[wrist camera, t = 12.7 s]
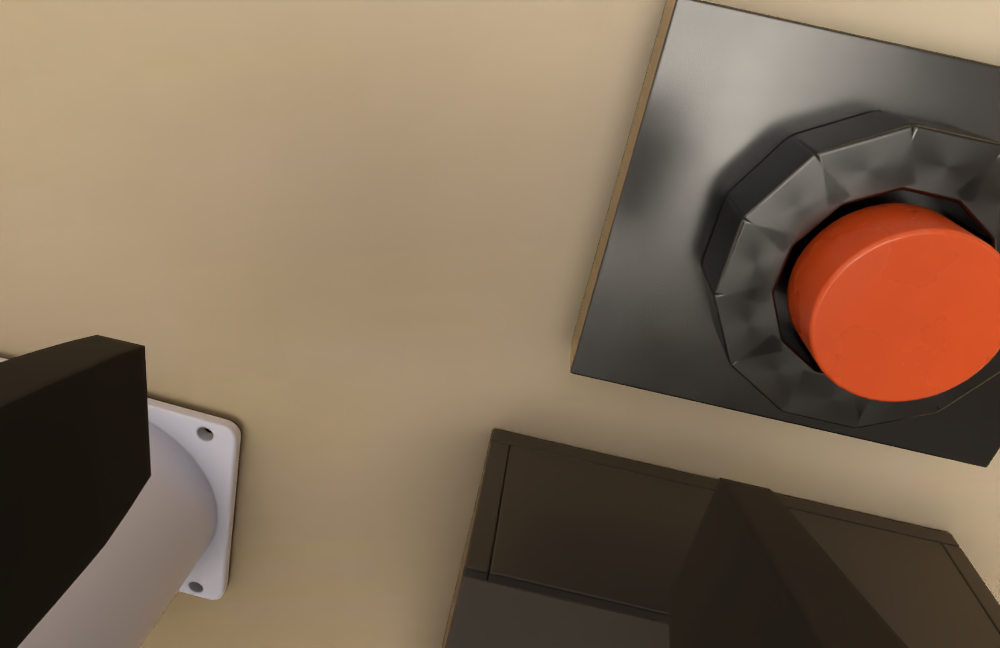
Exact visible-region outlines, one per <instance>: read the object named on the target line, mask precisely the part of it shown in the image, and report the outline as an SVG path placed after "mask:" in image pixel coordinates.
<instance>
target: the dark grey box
mask: <svg viewBox="0 0 1000 648" xmlns="http://www.w3.org/2000/svg"><path fill="white" fill-rule="evenodd" d="M718 482H719V480H715V479H711V478H706V477H702V476H698V475H693V474H689V473H684V472H680V471H676V470H671V469H667V468H663V467H658V466H654V465H650V464H645V463H641V462H637V461H632V460H628V459H623V458H619V457H615V456H610V455H606V454H602V453H597V452H593V451H589V450H584V449H580V448H575V447H571V446H567V445H562V444H558V443H554V442H549V441H545V440H541V439H536V438H532V437H528V436H523V435H519V434H514V433H510V432H506V431H501V430H497V429H493V431H492V434H491V439H490V443H489V447H488V451H487V456H486V460H485V464H484V469H483V473H482V477H481V481H480V486H479V490H478V494H477V498H476V503H475V507H474V511H473V516H472V520H471V524H470V528H469V533H468V537H467V541H466V546H465V550H464V554H463V558H462V563H461V567H460V571H459V575H458V580H457V584H456V588H455V593H454V597H453V601H452V605H451V610H450V614H449V618H448V623H447V627H446V631H445V635H444V640H443V644H442V648H446V646H447V642H448V637H449V632H450V628H451V623H452V619H453V614H454V610H455V605H456V600H457V596H458V591H459V587H460V582H461V579H462V577H463V576H468V577H473V578H477V579H481V580H485V581H490V582H494V583H498V584H503V585H507V586H511V587H516V588H520V589H524V590H529V591H533V592H537V593H541V594H546V595H550V596H554V597H559V598H563V599H567V600H572V601H576V602H580V603H584V604H589V605H593V606H597V607H602V608H606V609H610V610H615V611H619V612H623V613H628V614H632V615H636V616H640V617H645V618H649V619H653V620H658V621H662V622H666V623H669V593H670V591H671V589H672V587H673V584H674V582H675V580H676V577H677V575H678V573H679V571H680V568H681V566H682V564H683V562H684V559H685V557H686V555H687V552H688V550H689V548H690V546H691V543H692V541H693V539H694V537H695V534H696V532H697V530H698V527H699V525H700V523H701V521H702V518H703V516H704V514H705V511H706V509H707V507H708V505H709V502H710V500H711V498H712V496H713V493H714V491H715V489H716V486H717V484H718ZM774 494H775V495H776V496H777V497H778V498H779V499H780V500H781V501H782V502H783V504H784V505H785V506H786V507H787V508H788V509H789V510H790V511H791V512H792V514H793V515H794V516H795V517H796V518H797V519H798V520H799V522H800V523H801V524H802V525H803V526H804V527H805V529H806V530H807V531H808V532H809V533H810V534H811V535H812V537H813V538H814V539H815V540H816V541H817V542H818V544H819V545H820V546H821V547H822V548H823V550H824V551H825V552H826V553H827V554H828V555H829V557H830V558H831V559H832V560H833V561H834V562H835V564H836V565H837V566H838V567H839V568H840V569H841V571H842V572H843V573H844V574H845V575H846V576H847V578H848V579H849V580H850V581H851V582H852V583H853V585H854V586H855V587H856V588H857V589H858V590H859V592H860V593H861V594H862V595H863V596H864V597H865V599H866V600H867V601H868V602H869V603H870V604H871V605H872V607H873V608H874V609H875V610H876V611H877V612H878V613H879V615H880V616H881V617H882V618H883V619H884V620H885V621H886V623H887V624H888V625H889V626H890V627H891V628H892V629H893V631H894V632H895V633H896V634H897V635H898V636H899V637H900V638H901V640H902V641H903V642H904V643H905V644H906V645H907V646H908V647H909V648H1000V605H999V604H998V602H997V601H996V599H995V598H994V596H993V595H992V593H991V592H990V590H989V589H988V587H987V586H986V585H985V583H984V582H983V580H982V579H981V577H980V576H979V574H978V573H977V571H976V570H975V568H974V567H973V565H972V564H971V562H970V561H969V559H968V558H967V557H966V555H965V554H964V552H963V551H962V549H961V548H959V545H958V544H957V542H956V541H955V539H954V538H953V536H952V535H951V534H950V533H946V532H942V531H937V530H933V529H929V528H924V527H920V526H916V525H911V524H907V523H902V522H898V521H894V520H889V519H885V518H881V517H876V516H872V515H868V514H863V513H859V512H855V511H850V510H846V509H841V508H837V507H833V506H828V505H824V504H820V503H815V502H811V501H807V500H802V499H798V498H793V497H789V496H785V495H780V494H776V493H774Z"/></svg>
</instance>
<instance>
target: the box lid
mask: <svg viewBox="0 0 1000 648" xmlns="http://www.w3.org/2000/svg"><path fill="white" fill-rule="evenodd" d="M446 648H670V642H669V623H666V622H662V621H658V620H653V619H649V618H645V617H640V616H636V615H632V614H628V613H623V612H619V611H615V610H610V609H606V608H602V607H597V606H593V605H589V604H584V603H580V602H576V601H572V600H567V599H563V598H559V597H554V596H550V595H546V594H541V593H537V592H533V591H529V590H524V589H520V588H516V587H511V586H507V585H503V584H498V583H494V582H490V581H485V580H481V579H477V578H473V577H468V576H463V577H462V579H461V582H460V587H459V591H458V596H457V600H456V605H455V610H454V614H453V619H452V623H451V628H450V632H449V637H448V642H447V646H446Z"/></svg>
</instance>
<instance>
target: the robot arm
mask: <svg viewBox="0 0 1000 648" xmlns="http://www.w3.org/2000/svg"><path fill="white" fill-rule="evenodd" d="M204 427H206V428H208V429H210V430H211V432H212V433H213V434H211V433H209V432H207V431H206V430H205V429H204ZM240 442H241V433H240V430H239V428H238V426H237V425H235V424H234V423H233V422H231V421H229V420H227V419H223V418H220V417H216V416H212V415H209V414H205V413H201V412H198V411H194V410H190V409H187V408H183V407H179V406H176V405H172V404H168V403H165V402H161V401H158V400H154V399H150V398H147V381H146V361H145V346H143V345H139V344H134V343H130V342H126V341H121V340H117V339H112V338H108V337H104V336H99V335H94V336H90V337H86V338H81V339H77V340H73V341H69V342H66V343H62V344H59V345H55V346H52V347H48V348H45V349H41V350H38V351H35V352H31V353H28V354H25V355H22V356H19V357H15V358H12V359H9V360H8V359H4V358H1V357H0V648H140V646H141V645H142V643H143V642H144V640H145V639H146V637H147V636H148V635H149V633H150V632H151V630H152V629H153V627H154V626H155V624H156V623H157V621H158V620H159V618H160V617H161V615H162V614H163V612H164V611H165V609H166V608H167V607H168V605H169V604H170V602H171V601H172V599H173V598H174V596H175V595H176V593H177V592H178V591H180V592H183V593H187V594H191V595H194V596H198V597H202V598H205V599H210V600H216V599H220V598H221V597H222V596H223V594H224V593H225V591H226V589H227V584H228V573H229V562H230V551H231V540H232V529H233V518H234V507H235V496H236V485H237V474H238V463H239V452H240ZM669 642H670V648H909V647H908V646H907V645H906V644H905V643H904V642H903V641H902V640H901V638H900V637H899V636H898V635H897V634H896V633H895V632H894V631H893V629H892V628H891V627H890V626H889V625H888V624H887V623H886V621H885V620H884V619H883V618H882V617H881V616H880V615H879V613H878V612H877V611H876V610H875V609H874V608H873V607H872V605H871V604H870V603H869V602H868V601H867V600H866V599H865V597H864V596H863V595H862V594H861V593H860V592H859V590H858V589H857V588H856V587H855V586H854V585H853V583H852V582H851V581H850V580H849V579H848V578H847V576H846V575H845V574H844V573H843V572H842V571H841V569H840V568H839V567H838V566H837V565H836V564H835V562H834V561H833V560H832V559H831V558H830V557H829V555H828V554H827V553H826V552H825V551H824V550H823V548H822V547H821V546H820V545H819V544H818V542H817V541H816V540H815V539H814V538H813V537H812V535H811V534H810V533H809V532H808V531H807V530H806V529H805V527H804V526H803V525H802V524H801V523H800V522H799V520H798V519H797V518H796V517H795V516H794V515H793V514H792V512H791V511H790V510H789V509H788V508H787V507H786V506H785V505H784V504H783V502H782V501H781V500H780V499H779V498H778V497H777V496H776V495H775V494H774V493H773V492H772V491H771V490H770V489H767V488H762V487H758V486H754V485H749V484H745V483H741V482H736V481H732V480H727V479H723V478H720V480H719V482H718V484H717V486H716V489H715V491H714V493H713V496H712V498H711V500H710V502H709V505H708V507H707V509H706V511H705V514H704V516H703V518H702V521H701V523H700V525H699V527H698V530H697V532H696V534H695V537H694V539H693V541H692V543H691V546H690V548H689V550H688V552H687V555H686V557H685V559H684V562H683V564H682V566H681V568H680V571H679V573H678V575H677V577H676V580H675V582H674V584H673V587H672V589H671V591H670V593H669Z"/></svg>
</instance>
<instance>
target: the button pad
mask: <svg viewBox="0 0 1000 648" xmlns="http://www.w3.org/2000/svg"><path fill="white" fill-rule="evenodd" d="M890 203H904V204H912V205H918V206H922V207H925V208H928V209H931V210H933V211H935V212H937V213H940V214H941V215H943V216H944V217H946V218H948V219H949V220H951V221H953V222H954V223H956V224H957V225H959V226H961V227H962V228H964V229H965V230H967V231H969V232H970V233H972V234H974V235H975V236H977V237H978V238H980V239H982V240H983V241H985V242H986V243H988V244H989V245H991V246H992V247H993V248H994V249H995V250H996V251H997V252H998V253H1000V66H996V65H991V64H987V63H982V62H978V61H973V60H969V59H964V58H960V57H955V56H951V55H946V54H942V53H937V52H932V51H928V50H923V49H919V48H914V47H910V46H905V45H901V44H896V43H892V42H887V41H883V40H878V39H873V38H869V37H864V36H860V35H855V34H851V33H846V32H842V31H837V30H833V29H828V28H824V27H819V26H814V25H810V24H805V23H801V22H796V21H792V20H787V19H783V18H778V17H774V16H769V15H764V14H760V13H755V12H751V11H746V10H742V9H737V8H733V7H728V6H724V5H719V4H715V3H710V2H705V1H701V0H667V1H666V5H665V8H664V12H663V16H662V19H661V23H660V26H659V30H658V33H657V37H656V41H655V44H654V48H653V51H652V55H651V59H650V62H649V66H648V69H647V73H646V77H645V80H644V84H643V87H642V91H641V94H640V98H639V102H638V105H637V109H636V112H635V116H634V120H633V123H632V127H631V130H630V134H629V137H628V141H627V145H626V148H625V152H624V155H623V159H622V163H621V166H620V170H619V173H618V177H617V181H616V184H615V188H614V191H613V195H612V198H611V202H610V206H609V209H608V213H607V216H606V220H605V224H604V227H603V231H602V234H601V238H600V242H599V245H598V249H597V252H596V256H595V259H594V263H593V267H592V270H591V274H590V277H589V281H588V285H587V288H586V292H585V295H584V299H583V303H582V306H581V310H580V313H579V317H578V320H577V324H576V328H575V331H574V335H573V338H572V342H571V366H570V372H571V373H573V374H578V375H582V376H587V377H591V378H595V379H600V380H604V381H609V382H613V383H617V384H622V385H626V386H630V387H635V388H639V389H644V390H648V391H652V392H657V393H661V394H666V395H670V396H674V397H679V398H683V399H687V400H692V401H696V402H701V403H705V404H709V405H714V406H718V407H723V408H727V409H731V410H736V411H740V412H744V413H749V414H753V415H758V416H762V417H766V418H771V419H775V420H780V421H784V422H788V423H793V424H797V425H802V426H806V427H810V428H815V429H819V430H823V431H828V432H832V433H837V434H841V435H845V436H850V437H854V438H859V439H863V440H867V441H872V442H876V443H880V444H885V445H889V446H894V447H898V448H902V449H907V450H911V451H916V452H920V453H924V454H929V455H933V456H938V457H942V458H946V459H951V460H955V461H959V462H964V463H968V464H973V465H977V466H981V467H987V466H988V465H989V463H990V462H991V460H992V459H993V457H994V456H995V454H996V453H997V451H998V450H999V448H1000V349H999V351H998V352H997V353H996V355H995V356H994V357H993V358H992V359H991V360H990V361H989V362H988V363H987V364H986V365H985V366H984V367H983V368H982V369H981V370H980V371H978V372H977V373H976V374H974V375H973V376H972V377H970V378H969V379H967V380H966V381H964V382H962V383H961V384H959V385H957V386H955V387H953V388H951V389H949V390H947V391H945V392H942V393H939V394H936V395H934V396H930V397H926V398H922V399H918V400H911V401H901V402H887V401H877V400H871V399H867V398H864V397H860V396H857V395H855V394H852V393H850V392H848V391H846V390H844V389H842V388H841V387H839V386H837V385H836V384H835V383H834V382H832V381H831V380H830V379H829V378H828V377H827V376H826V375H825V374H824V373H823V372H822V371H821V369H820V368H819V366H818V364H817V363H816V361H815V360H814V358H813V357H812V355H811V353H810V352H809V350H808V349H807V347H806V345H805V344H804V342H803V341H802V339H801V338H800V336H799V334H798V333H797V331H796V330H795V328H794V326H793V324H792V322H791V319H790V316H789V312H788V308H787V287H788V282H789V278H790V275H791V272H792V269H793V267H794V265H795V263H796V261H797V259H798V257H799V256H800V254H801V253H802V251H803V250H804V248H805V247H806V246H807V245H808V244H809V242H810V241H811V240H812V239H813V238H814V237H815V236H816V235H817V234H818V233H819V232H821V231H822V230H823V229H824V228H826V227H827V226H828V225H830V224H831V223H833V222H834V221H836V220H838V219H839V218H841V217H843V216H845V215H847V214H850V213H852V212H854V211H857V210H860V209H863V208H866V207H870V206H875V205H880V204H890Z"/></svg>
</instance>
